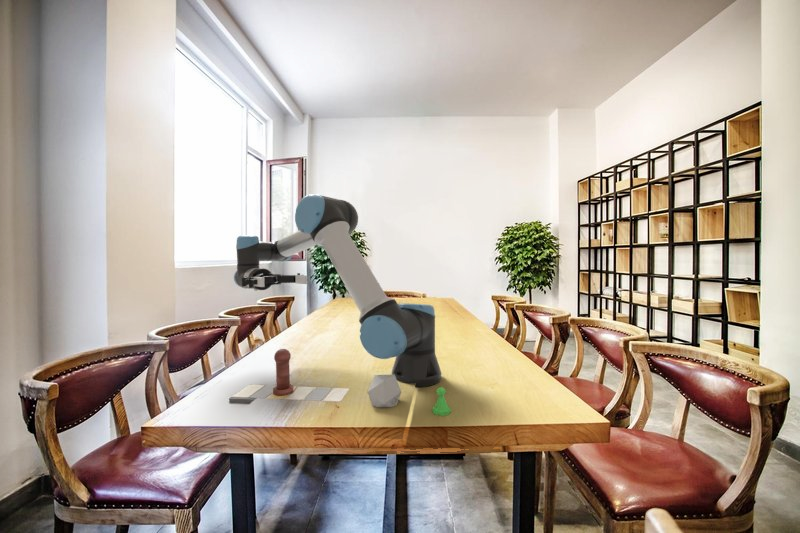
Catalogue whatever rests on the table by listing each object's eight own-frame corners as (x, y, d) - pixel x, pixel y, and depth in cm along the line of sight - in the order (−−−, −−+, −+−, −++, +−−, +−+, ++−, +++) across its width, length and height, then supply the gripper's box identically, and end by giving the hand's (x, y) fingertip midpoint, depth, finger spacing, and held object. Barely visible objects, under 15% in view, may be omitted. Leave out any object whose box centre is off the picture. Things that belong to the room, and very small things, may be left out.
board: (351, 391, 95) (351, 387, 95) (340, 407, 85) (340, 402, 85) (250, 387, 99) (250, 383, 99) (229, 402, 89) (229, 397, 89)
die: (389, 421, 79) (409, 383, 82) (357, 401, 80) (379, 364, 83) (389, 418, 87) (408, 383, 90) (361, 399, 88) (380, 366, 91)
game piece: (440, 417, 79) (440, 391, 79) (428, 410, 83) (428, 386, 82) (454, 412, 82) (454, 387, 82) (441, 406, 85) (441, 382, 85)
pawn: (296, 388, 95) (295, 346, 94) (287, 396, 90) (286, 351, 89) (278, 388, 95) (278, 346, 95) (269, 395, 90) (268, 351, 90)
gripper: (292, 287, 128) (322, 290, 112) (220, 292, 111) (243, 296, 95) (292, 267, 128) (321, 267, 112) (219, 269, 111) (242, 270, 95)
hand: (285, 281), depth 104 cm, fingers open, 13 cm apart
